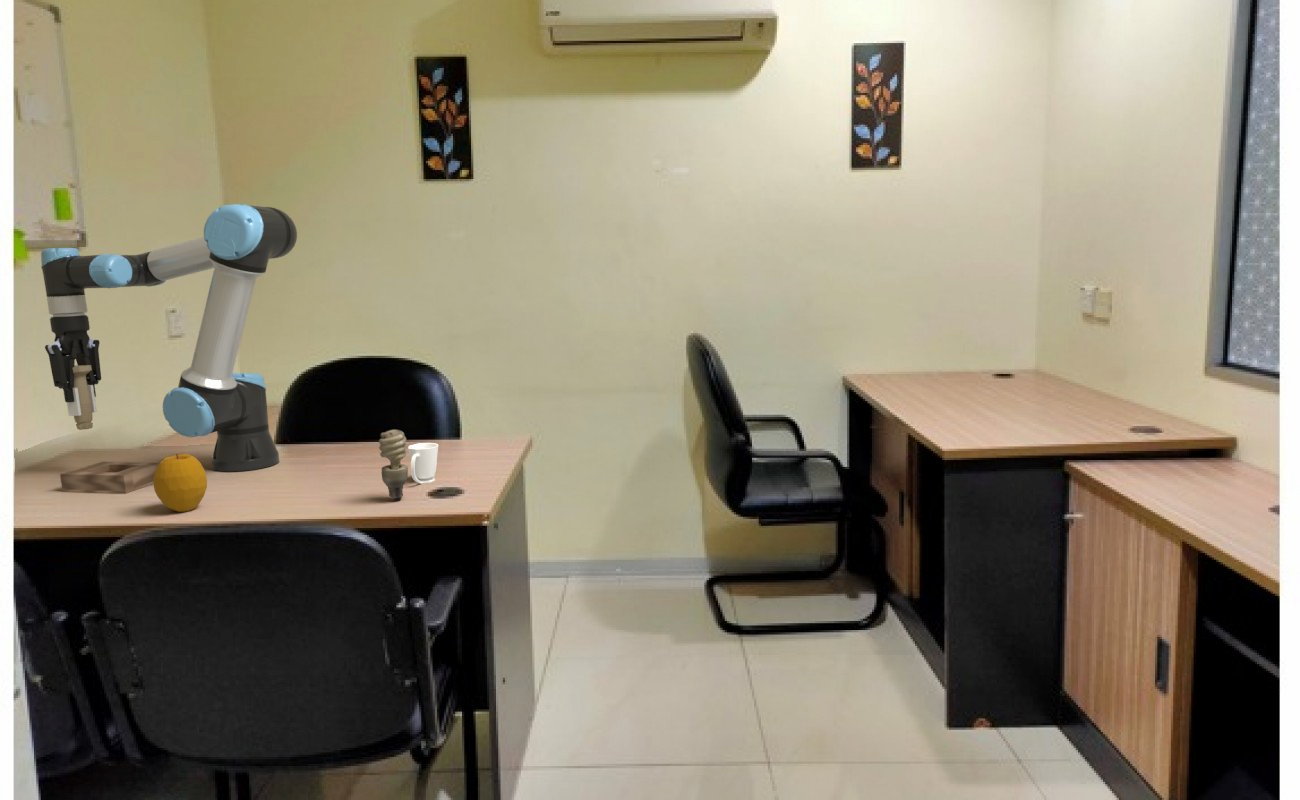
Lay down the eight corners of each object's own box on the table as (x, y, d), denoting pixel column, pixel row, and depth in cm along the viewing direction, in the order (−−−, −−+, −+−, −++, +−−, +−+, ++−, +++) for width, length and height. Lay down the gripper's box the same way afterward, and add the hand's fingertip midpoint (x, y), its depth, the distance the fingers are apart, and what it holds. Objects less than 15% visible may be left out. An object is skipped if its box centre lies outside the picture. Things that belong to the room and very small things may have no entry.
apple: (171, 503, 182) (165, 448, 180) (218, 502, 183) (213, 447, 181) (147, 517, 172) (140, 459, 171) (197, 515, 173) (191, 457, 171)
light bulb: (413, 501, 180) (409, 430, 178) (387, 505, 177) (382, 433, 175) (405, 495, 185) (400, 426, 183) (379, 499, 182) (374, 429, 180)
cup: (446, 477, 200) (444, 442, 199) (428, 488, 190) (426, 452, 189) (417, 476, 201) (414, 442, 200) (398, 487, 192) (396, 451, 190)
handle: (86, 430, 205) (77, 367, 202) (65, 430, 206) (55, 367, 204) (104, 427, 209) (95, 364, 207) (83, 426, 211) (74, 365, 208)
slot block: (164, 479, 203) (163, 463, 202) (125, 493, 191) (123, 475, 190) (104, 478, 205) (102, 461, 205) (62, 491, 194) (60, 474, 193)
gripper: (83, 313, 212) (97, 407, 216) (23, 318, 196) (39, 420, 200) (110, 312, 211) (123, 407, 215) (52, 317, 195) (67, 420, 198)
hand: (83, 413), depth 207 cm, fingers closed on handle, 4 cm apart
